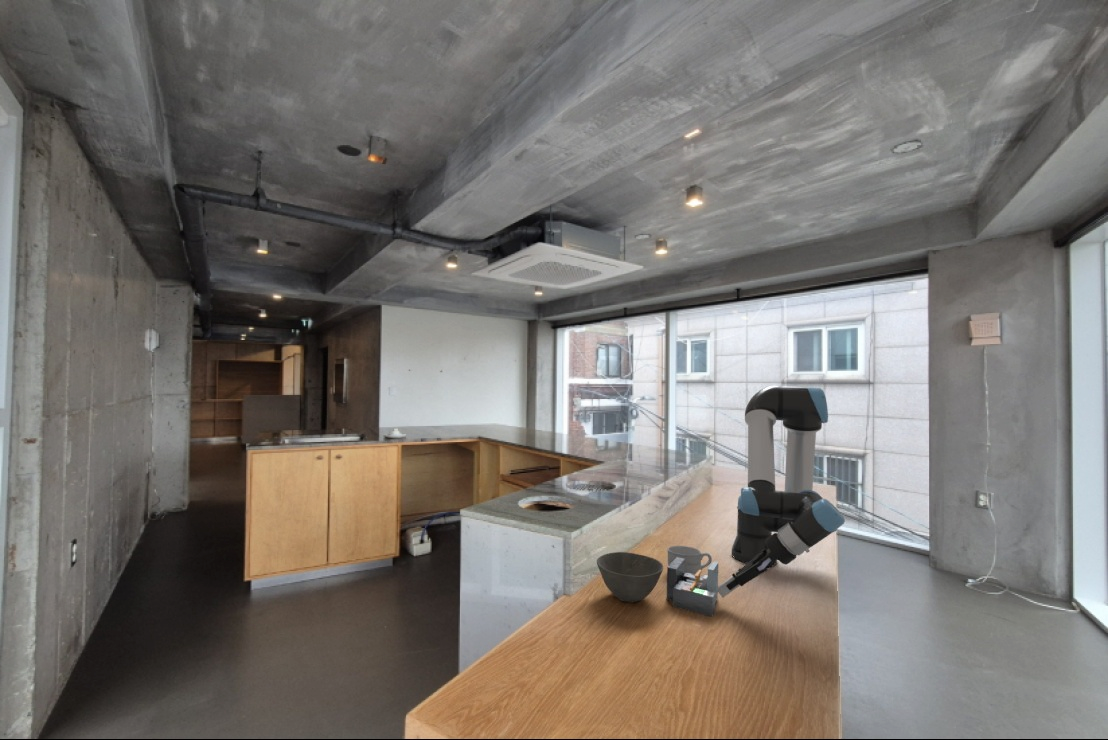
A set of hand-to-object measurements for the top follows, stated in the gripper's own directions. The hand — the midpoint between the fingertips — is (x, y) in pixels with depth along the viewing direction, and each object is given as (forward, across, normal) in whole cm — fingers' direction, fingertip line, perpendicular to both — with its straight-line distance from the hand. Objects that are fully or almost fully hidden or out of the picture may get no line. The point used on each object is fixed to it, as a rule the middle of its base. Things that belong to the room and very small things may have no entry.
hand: (720, 592), depth 131 cm
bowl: (+19, -11, +14) cm, 26 cm away
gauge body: (+7, -2, +3) cm, 8 cm away
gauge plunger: (+6, 0, +2) cm, 6 cm away
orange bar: (+3, -3, +6) cm, 7 cm away
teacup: (+12, +17, +7) cm, 22 cm away
